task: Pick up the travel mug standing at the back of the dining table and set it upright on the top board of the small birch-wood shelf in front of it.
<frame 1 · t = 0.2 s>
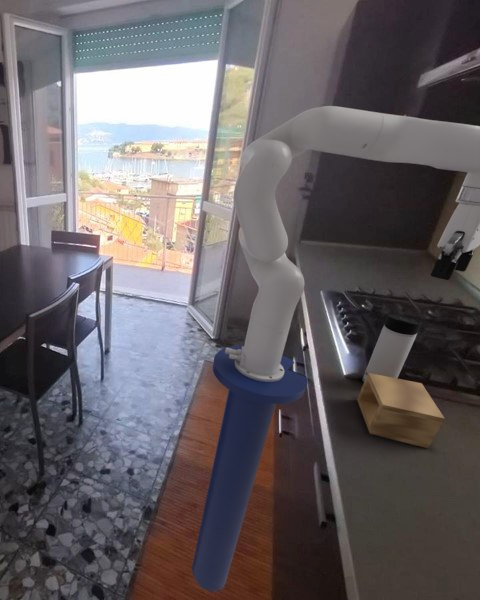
hand: (447, 273, 81), 30 cm above the worktop, tool pointing down, fingers open, 9 cm apart
travel mug: (376, 385, 93), on the worktop
shelf: (389, 422, 80), on the worktop
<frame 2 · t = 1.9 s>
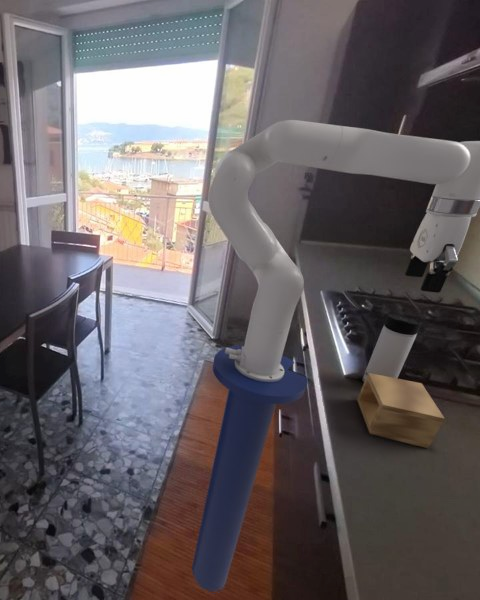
hand: (421, 283, 80), 29 cm above the worktop, tool pointing down, fingers open, 9 cm apart
nothing on the worktop moved.
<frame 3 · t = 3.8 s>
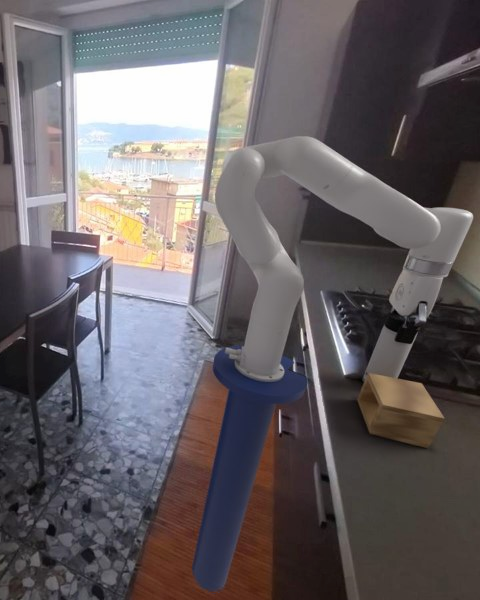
hand: (397, 334, 86), 15 cm above the worktop, tool pointing down, fingers closed on travel mug, 6 cm apart
travel mug: (376, 385, 93), on the worktop, touching gripper
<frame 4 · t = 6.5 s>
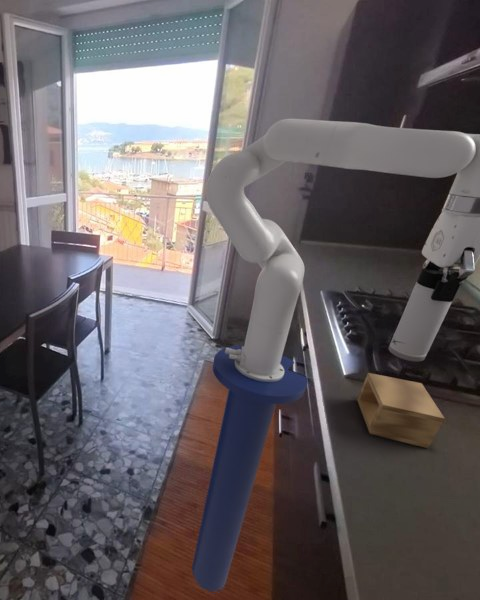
hand: (433, 292, 73), 29 cm above the worktop, tool pointing down, fingers closed on travel mug, 6 cm apart
travel mug: (405, 355, 80), point 14 cm above the worktop, touching gripper
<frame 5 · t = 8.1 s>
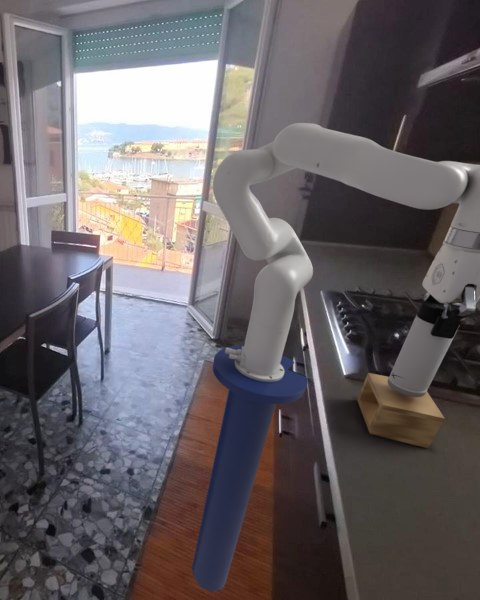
hand: (433, 327, 70), 25 cm above the worktop, tool pointing down, fingers closed on travel mug, 6 cm apart
travel mug: (404, 389, 76), point 9 cm above the worktop, touching gripper
when the fingers open (23 cm above the worktop, at t = 9.1 s): travel mug stays where it is, resting on shelf.
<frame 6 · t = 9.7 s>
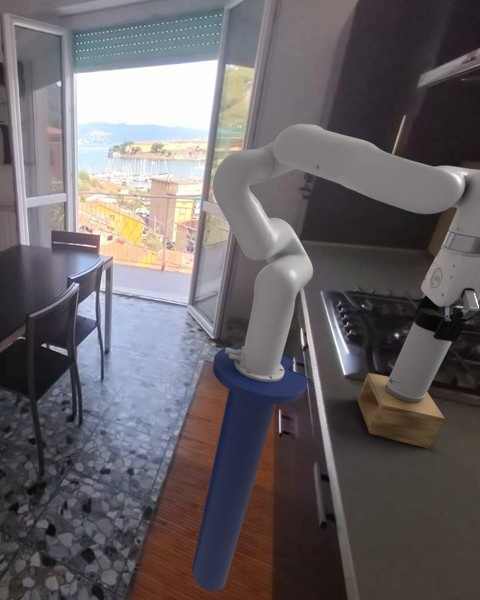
hand: (433, 327, 70), 25 cm above the worktop, tool pointing down, fingers open, 9 cm apart
travel mug: (402, 394, 77), point 8 cm above the worktop, touching shelf
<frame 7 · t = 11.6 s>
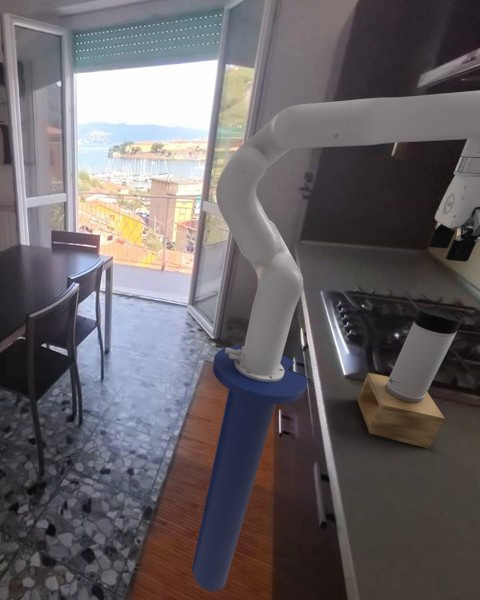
hand: (446, 253, 75), 36 cm above the worktop, tool pointing down, fingers open, 9 cm apart
nothing on the worktop moved.
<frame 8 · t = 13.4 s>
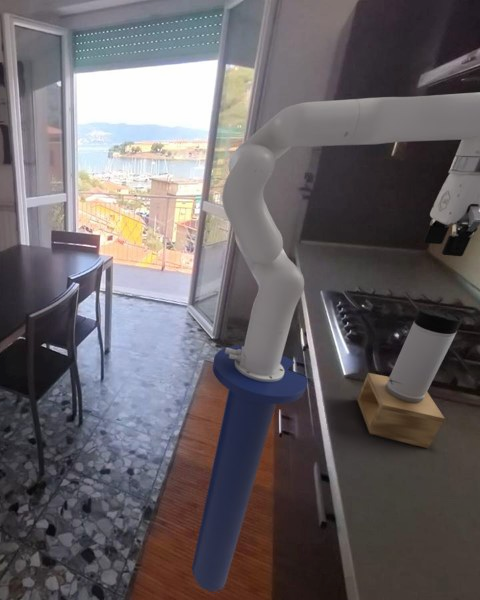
hand: (441, 248, 78), 36 cm above the worktop, tool pointing down, fingers open, 9 cm apart
nothing on the worktop moved.
at the end: travel mug inside the target area on the shelf (0.2 cm from its centre), point 8.0 cm above the shelf's base; travel mug tilted 0°; the gripper is holding nothing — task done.
